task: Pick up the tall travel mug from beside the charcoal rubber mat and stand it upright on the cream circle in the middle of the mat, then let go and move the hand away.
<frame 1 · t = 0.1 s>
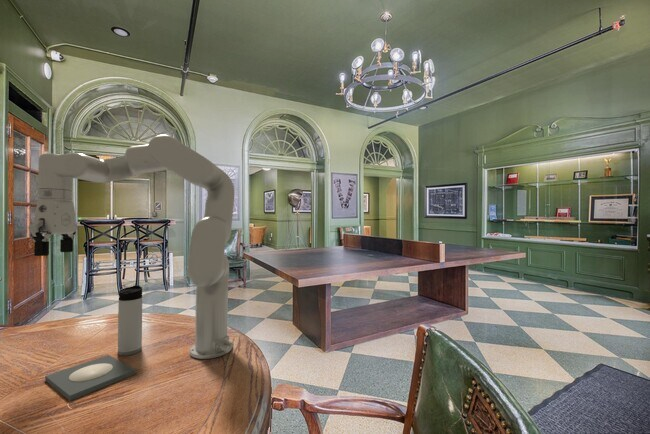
hand: (54, 253, 87), 31 cm above the table, tool pointing down, fingers open, 9 cm apart
mat: (91, 377, 77), on the table
travel mug: (130, 351, 92), on the table
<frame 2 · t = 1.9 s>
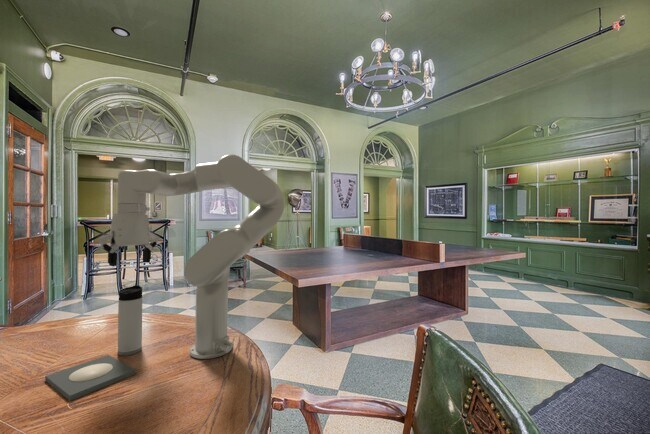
hand: (130, 263, 92), 27 cm above the table, tool pointing down, fingers open, 9 cm apart
nothing on the table moved.
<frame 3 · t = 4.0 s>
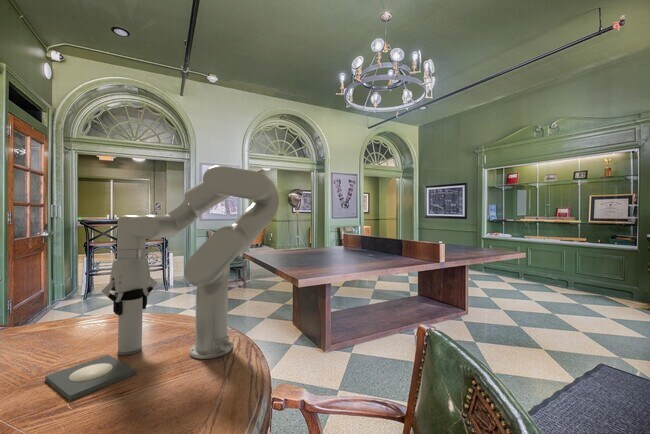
hand: (130, 310, 92), 13 cm above the table, tool pointing down, fingers closed on travel mug, 6 cm apart
travel mug: (130, 351, 92), on the table, touching gripper
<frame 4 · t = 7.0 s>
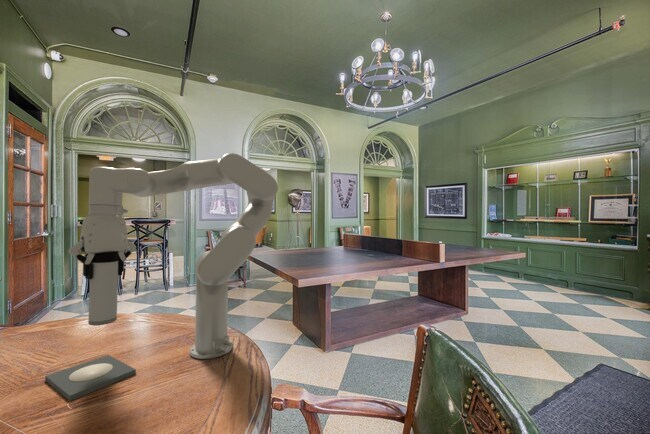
hand: (104, 276, 81), 26 cm above the table, tool pointing down, fingers closed on travel mug, 6 cm apart
travel mug: (103, 322, 81), point 13 cm above the table, touching gripper
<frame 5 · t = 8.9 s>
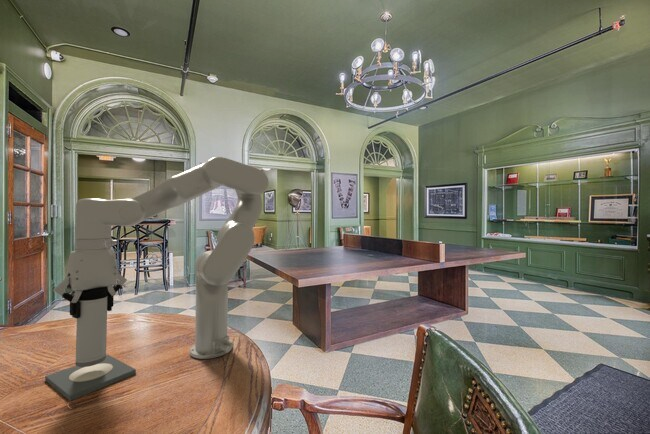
hand: (92, 313, 77), 17 cm above the table, tool pointing down, fingers closed on travel mug, 6 cm apart
travel mug: (91, 362, 77), point 4 cm above the table, touching gripper
when the fingers open (15 cm above the table, at t = 10.1 s): travel mug drops 1 cm, resting on mat.
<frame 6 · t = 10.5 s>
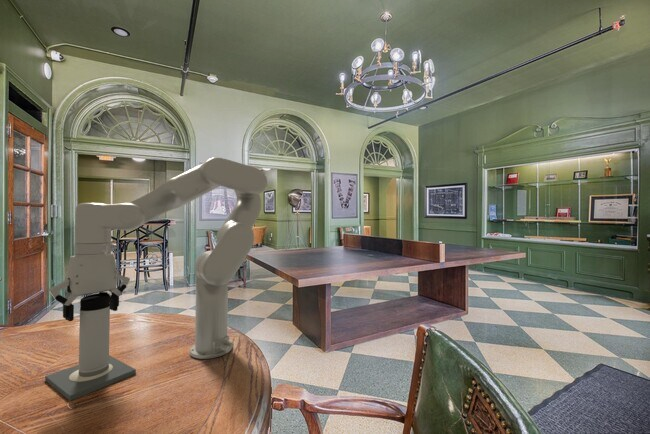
hand: (92, 314, 77), 16 cm above the table, tool pointing down, fingers open, 9 cm apart
travel mug: (94, 371, 77), point 1 cm above the table, touching mat
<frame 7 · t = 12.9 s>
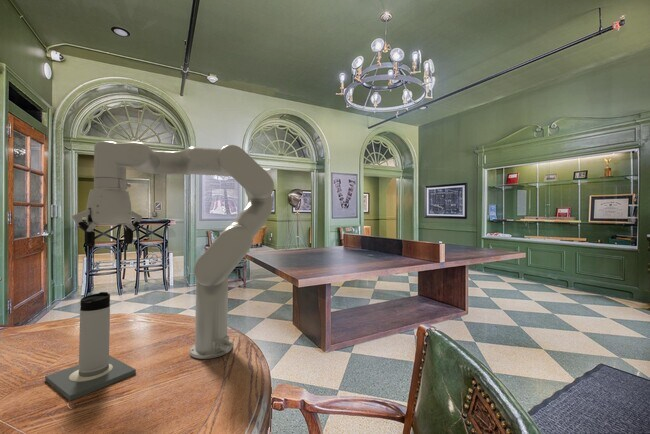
hand: (110, 244, 84), 34 cm above the table, tool pointing down, fingers open, 9 cm apart
nothing on the table moved.
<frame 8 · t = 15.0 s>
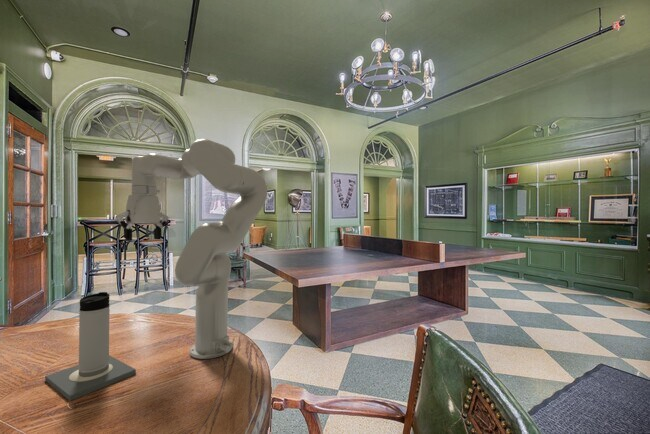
hand: (143, 239, 104), 34 cm above the table, tool pointing down, fingers open, 9 cm apart
nothing on the table moved.
at the end: travel mug inside the target area on the mat (0.6 cm from its centre), point 1.2 cm above the mat's base; travel mug tilted 0°; the gripper is holding nothing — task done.
